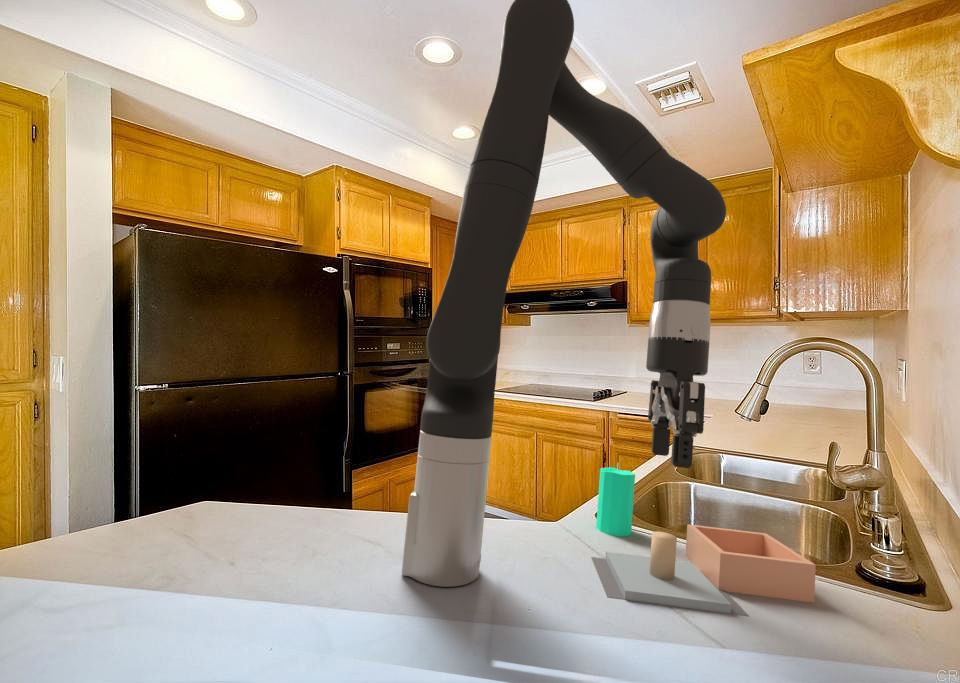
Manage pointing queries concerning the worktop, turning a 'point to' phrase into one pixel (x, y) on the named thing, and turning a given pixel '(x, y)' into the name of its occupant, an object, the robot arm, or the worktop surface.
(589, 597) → the worktop surface
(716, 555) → the dish
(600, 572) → the mat
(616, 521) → the candle
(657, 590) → the lid
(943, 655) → the worktop surface
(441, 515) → the robot arm
